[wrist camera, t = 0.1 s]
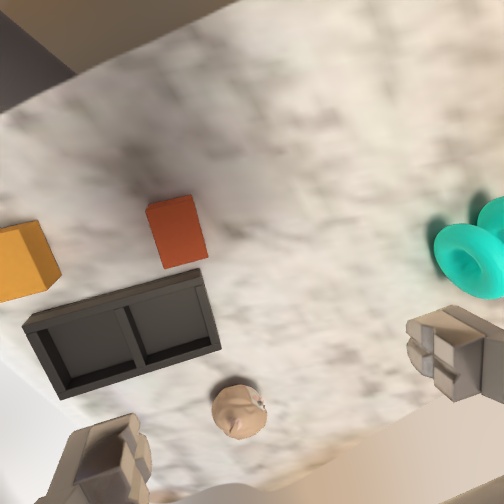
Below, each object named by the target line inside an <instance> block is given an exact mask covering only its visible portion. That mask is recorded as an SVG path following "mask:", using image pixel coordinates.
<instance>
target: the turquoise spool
mask: <svg viewBox="0 0 504 504" xmlns="http://www.w3.org/2000/svg"><path fill="white" fill-rule="evenodd" d="M434 254H435V257H436V260H437V262H438V265H439V266H440V268H441V270H442V271H443V272H444V274H445V275H446V276H447V278H448V279H449V280H450V281H451V282H452V283H453V284H455V285H456V286H457V287H458V288H460V289H461V290H463V291H464V292H466V293H468V294H470V295H472V296H475V297H478V298H482V299H497V298H501V297H503V296H504V196H503V197H499V198H496V199H494V200H492V201H490V202H489V203H487V204H486V205H485V206H484V207H483V208H482V210H481V212H480V213H479V216H478V220H477V226H475V225H470V224H453V225H450V226H447V227H445V228H444V229H442V230H441V231H440V232H439V233H438V235H437V236H436V238H435V241H434Z"/></svg>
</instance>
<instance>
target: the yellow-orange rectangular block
mask: <svg viewBox="0 0 504 504" xmlns="http://www.w3.org/2000/svg"><path fill="white" fill-rule="evenodd" d="M60 276H61V272H60V270H59V268H58V266H57V263H56V261H55V259H54V257H53V255H52V252H51V250H50V248H49V246H48V243H47V241H46V239H45V237H44V234H43V232H42V230H41V228H40V225H39V223H38V221H32V222H28V223H23V224H19V225H15V226H10V227H6V228H2V229H0V303H1V302H5V301H9V300H13V299H16V298H20V297H24V296H28V295H32V294H35V293H39V292H43V291H47V290H48V289H49V288H50V287H51V286H52V285H53V284H54V283H55V282H56V281H57V280H58V279H59V278H60Z"/></svg>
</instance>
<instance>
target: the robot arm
mask: <svg viewBox="0 0 504 504" xmlns="http://www.w3.org/2000/svg"><path fill="white" fill-rule="evenodd" d="M406 333H407V334H408V335H409V336H410V337H411V338H410V340H409V341H408V343H407V353H408V356H409V358H410V361H411V363H412V364H413V366H414V367H415V368H416V370H418V371H419V372H420V373H421V374H422V375H424V376H427V377H430V378H433V380H434V385H435V387H437V388H438V389H439V390H440V391H441V392H442V393H443V394H445V395H446V396H447V397H448V398H449V399H450V400H451V401H453V402H457V401H460V400H462V399H465V398H468V397H471V396H474V395H476V394H479V393H481V394H482V395H484V396H486V397H488V398H491V399H493V400H496V401H498V402H500V403H503V404H504V330H503V329H501V328H499V327H497V326H495V325H494V324H492V323H490V322H488V321H486V320H484V319H482V318H480V317H478V316H476V315H474V314H472V313H471V312H469V311H467V310H465V309H463V308H461V307H459V306H456V305H450V306H447V307H444V308H441V309H439V310H437V311H434V312H431V313H428V314H425V315H422V316H420V317H417V318H414V319H411V320H408V322H407V324H406ZM139 429H140V422H139V420H138V418H137V415H136V414H135V413H130V414H127V415H123V416H120V417H117V418H114V419H110V420H107V421H104V422H101V423H98V424H94V425H93V426H89V427H86V428H83V429H79V430H76V431H74V432H73V433H72V434H71V435H70V436H69V438H68V441H67V443H66V446H65V449H64V451H63V453H62V456H61V459H60V461H59V464H58V466H57V469H56V471H55V474H54V476H53V479H52V482H51V484H50V487H49V489H48V492H47V494H46V496H44V497H41V498H39V499H38V500H37V501H36V502H35V503H34V504H149V495H150V493H149V490H148V488H147V486H146V483H147V481H148V479H149V478H150V476H151V469H152V461H151V451H150V447H149V443H148V440H147V438H146V436H145V435H143V434H141V433H139ZM440 504H504V475H503V476H501V477H498V478H496V479H494V480H492V481H489V482H487V483H485V484H483V485H480V486H478V487H476V488H474V489H471V490H469V491H467V492H465V493H463V494H460V495H458V496H456V497H453V498H451V499H449V500H447V501H445V502H442V503H440Z"/></svg>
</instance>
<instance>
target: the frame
mask: <svg viewBox="0 0 504 504" xmlns="http://www.w3.org/2000/svg"><path fill="white" fill-rule="evenodd" d="M22 329H23V330H24V332H25V334H26V336H27V338H28V340H29V342H30V344H31V346H32V348H33V350H34V352H35V353H36V355H37V357H38V359H39V361H40V363H41V365H42V367H43V369H44V371H45V372H46V374H47V376H48V378H49V380H50V382H51V384H52V386H53V388H54V390H55V391H56V393H57V395H58V397H59V399H60V400H64V399H67V398H70V397H73V396H76V395H80V394H83V393H86V392H89V391H92V390H95V389H98V388H102V387H105V386H108V385H111V384H114V383H117V382H120V381H124V380H127V379H130V378H133V377H136V376H139V375H142V374H146V373H149V372H152V371H155V370H158V369H161V368H164V367H168V366H171V365H174V364H177V363H180V362H183V361H186V360H190V359H193V358H196V357H199V356H202V355H205V354H208V353H212V352H215V351H218V350H221V349H222V347H221V343H220V339H219V335H218V331H217V328H216V324H215V321H214V317H213V314H212V310H211V307H210V303H209V300H208V296H207V292H206V289H205V285H204V282H203V278H202V275H201V271H200V269H195V270H192V271H188V272H184V273H181V274H177V275H174V276H170V277H166V278H163V279H159V280H155V281H152V282H148V283H144V284H141V285H137V286H133V287H130V288H126V289H122V290H119V291H115V292H112V293H108V294H104V295H101V296H97V297H93V298H90V299H86V300H82V301H79V302H75V303H71V304H68V305H64V306H61V307H57V308H53V309H50V310H46V311H42V312H39V313H35V314H32V315H31V317H30V318H29V319H28V320H27V321H26V322H25V323H24V324H23V325H22Z"/></svg>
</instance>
